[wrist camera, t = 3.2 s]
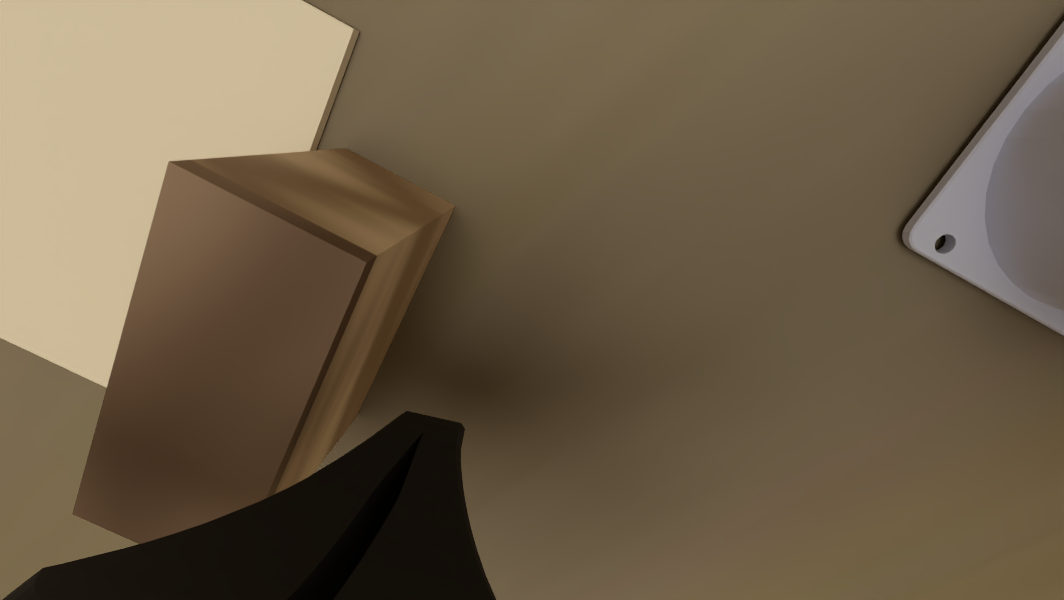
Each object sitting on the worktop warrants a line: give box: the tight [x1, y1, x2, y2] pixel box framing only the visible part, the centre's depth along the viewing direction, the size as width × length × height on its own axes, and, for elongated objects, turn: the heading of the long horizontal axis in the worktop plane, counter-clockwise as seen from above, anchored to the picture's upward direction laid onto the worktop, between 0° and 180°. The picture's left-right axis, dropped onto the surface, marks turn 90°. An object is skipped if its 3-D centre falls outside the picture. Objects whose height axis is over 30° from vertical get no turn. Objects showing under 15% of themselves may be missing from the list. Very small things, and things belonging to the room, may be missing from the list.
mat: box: [0, 0, 359, 388], centre depth 15 cm, size 12×14×1 cm
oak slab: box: [73, 148, 455, 544], centre depth 13 cm, size 4×8×7 cm, turn 153°
